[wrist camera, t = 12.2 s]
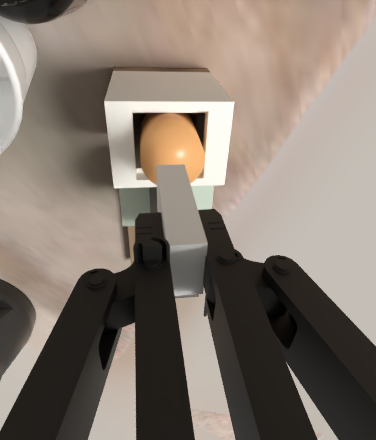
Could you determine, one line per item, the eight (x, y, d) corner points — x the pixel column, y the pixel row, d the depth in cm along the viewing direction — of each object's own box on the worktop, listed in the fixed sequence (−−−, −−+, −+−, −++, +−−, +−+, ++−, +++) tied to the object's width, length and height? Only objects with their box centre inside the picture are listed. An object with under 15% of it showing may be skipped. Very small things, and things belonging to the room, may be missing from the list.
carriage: (124, 200, 32) (117, 307, 21) (119, 154, 29) (109, 251, 18) (203, 198, 33) (233, 298, 22) (206, 153, 30) (243, 244, 19)
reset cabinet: (119, 141, 29) (113, 188, 23) (113, 70, 26) (104, 101, 19) (205, 140, 30) (224, 184, 24) (210, 72, 27) (234, 101, 20)
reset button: (141, 156, 25) (141, 189, 21) (138, 103, 22) (138, 129, 18) (192, 155, 25) (202, 187, 21) (195, 103, 23) (207, 129, 19)
